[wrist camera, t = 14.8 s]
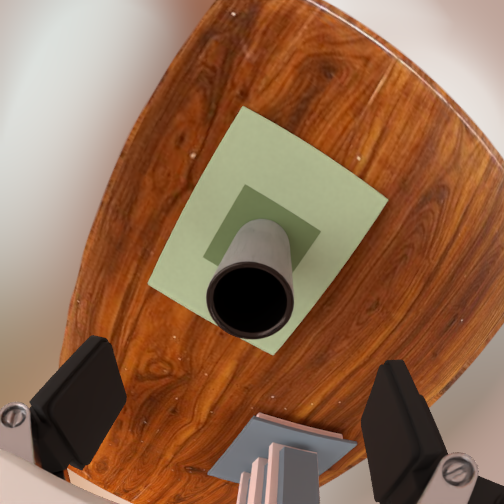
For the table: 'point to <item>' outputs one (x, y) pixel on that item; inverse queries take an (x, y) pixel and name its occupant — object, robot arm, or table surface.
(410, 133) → the table surface
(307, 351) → the table surface
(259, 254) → the gray hollow cylinder
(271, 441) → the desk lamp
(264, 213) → the mat
